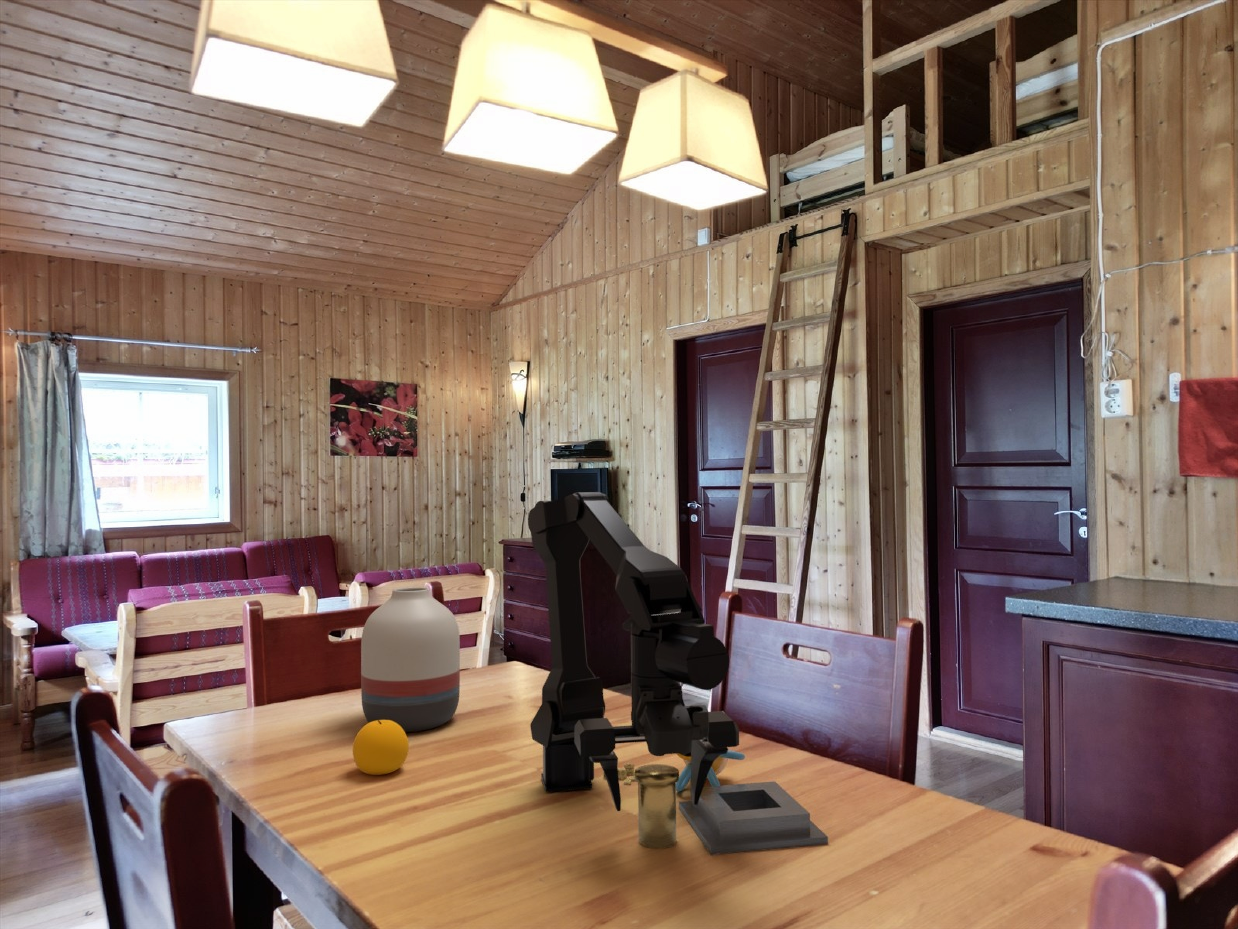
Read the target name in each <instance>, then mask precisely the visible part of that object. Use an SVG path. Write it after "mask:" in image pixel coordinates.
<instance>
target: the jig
mask: <svg viewBox="0 0 1238 929" xmlns="http://www.w3.org/2000/svg"><path fill="white" fill-rule="evenodd" d="M678 809H679V811H680V813H681V814H682V815H683V816H684V818H685V819H686V820H687V822H688V824H689V825H690V827H691V828H692V829H693V831H694V833H695V834H696V835H697V837H698V838H699V839H700V841H701V842H702V843H703V845H704V847H705V848H706V850H707V851H708V852H709V854H710V855H711V856H713V855H722V854H723V855H724V854H733V853H745V852H754V851H765V850H767V851H768V850H775V849H786V848H787V849H788V848H797V847H808V846H817V845H818V846H819V845H827V844H829V837H828V835H827V834H826V833H825V832H823V831H822V829H821V828H819V827H818V826H817V825H816V824H815V823H814V822H813V821H812V820H811V814H810V812H809V811H808V810H807V809H806V808H805V807H804V806H802V805H801V804H800V802H798V801H797V800H796V799H795V798H794V797H792V796H791V795H790V794H789V793H788V792H787V791H786V790H785V789H784V788H783V787H782V786H781V785H779V784H778V783H777V781H774V780H773V781H763V782H750V783H736V784H735V783H734V784H722V785H720V786H711V785H709V786H704V787H703V790H702V793H701V796H700V799H699V801H698V804H697V805H694V804H693V803H692V800H687V801H686V800H685V801H678Z"/></svg>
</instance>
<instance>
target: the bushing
mask: <svg viewBox="0 0 1238 929" xmlns="http://www.w3.org/2000/svg"><path fill="white" fill-rule="evenodd" d="M634 776H635V780H636V781H635V782H636V783H637V786H638V788H637V790H638V791H637V795H638V796H637V800H638V801H637V803H638V804H637V806H638V809H637V810H638V812H637V814H638V820H637V821H638V843H639V844H640V845H641V846H643V847H645V848H649V849H668V848H671V847H673V846H674V845H676V843H677V790H676V782H678V780H679V776H680V770H679V769H678V768H677V767H675V766H672V765H670V764H669V765H668V764H662V763H659V764H658V763H651V764H645V765H644V764H643V765H641V766H637V768H634Z"/></svg>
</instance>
